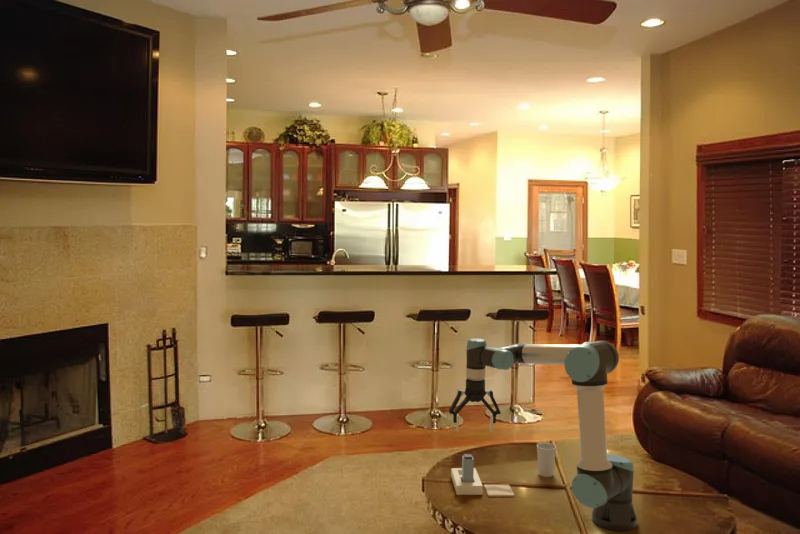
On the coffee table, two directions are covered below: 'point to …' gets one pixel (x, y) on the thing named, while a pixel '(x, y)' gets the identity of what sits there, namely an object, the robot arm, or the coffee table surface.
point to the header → (466, 483)
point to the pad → (499, 491)
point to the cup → (546, 459)
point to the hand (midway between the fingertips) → (474, 431)
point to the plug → (467, 468)
